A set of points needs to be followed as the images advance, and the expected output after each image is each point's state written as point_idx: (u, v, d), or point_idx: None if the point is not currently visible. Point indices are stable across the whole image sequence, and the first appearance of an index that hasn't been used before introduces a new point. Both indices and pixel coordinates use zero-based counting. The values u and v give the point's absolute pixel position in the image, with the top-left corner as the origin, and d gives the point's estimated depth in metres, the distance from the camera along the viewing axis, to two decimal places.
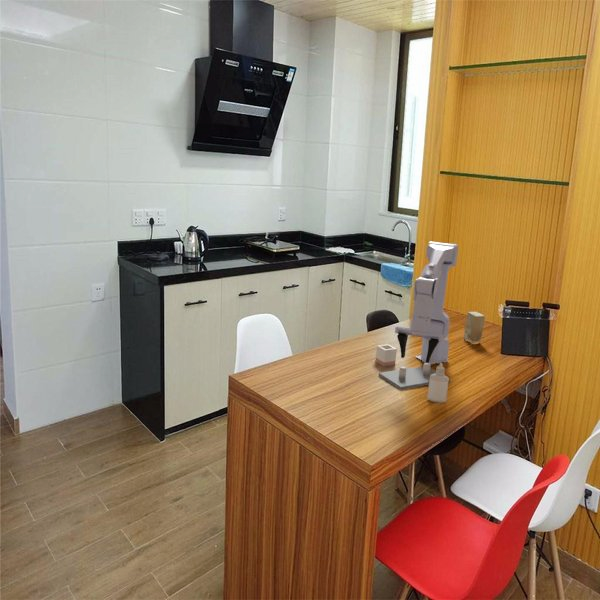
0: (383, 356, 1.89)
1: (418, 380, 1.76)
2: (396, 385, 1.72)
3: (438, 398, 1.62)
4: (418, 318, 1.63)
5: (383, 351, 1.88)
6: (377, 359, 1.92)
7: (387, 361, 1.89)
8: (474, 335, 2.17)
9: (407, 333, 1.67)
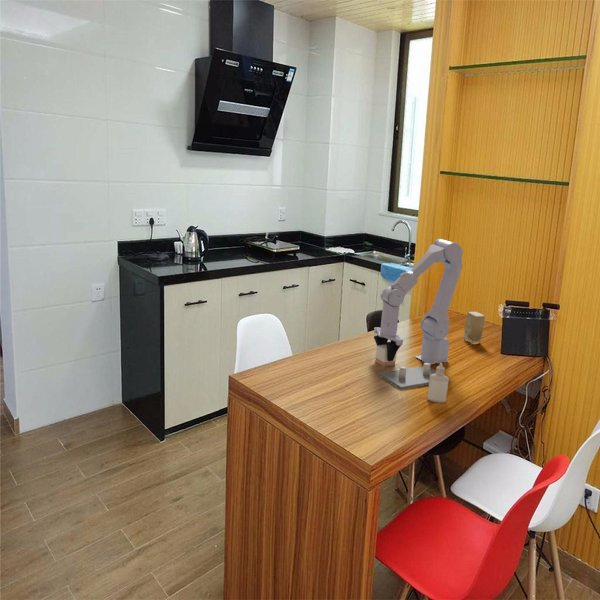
0: (383, 356, 1.89)
1: (418, 380, 1.76)
2: (396, 385, 1.72)
3: (438, 398, 1.62)
4: (382, 322, 1.87)
5: (383, 351, 1.88)
6: (377, 359, 1.92)
7: (387, 361, 1.89)
8: (474, 335, 2.17)
9: None
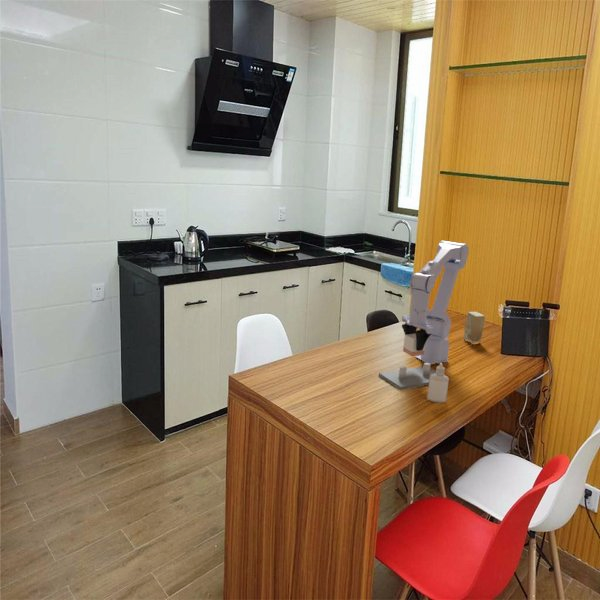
0: (411, 346, 1.80)
1: (418, 380, 1.76)
2: (396, 385, 1.72)
3: (438, 398, 1.62)
4: (411, 310, 1.79)
5: (412, 340, 1.80)
6: (405, 349, 1.84)
7: (416, 351, 1.81)
8: (474, 335, 2.17)
9: None
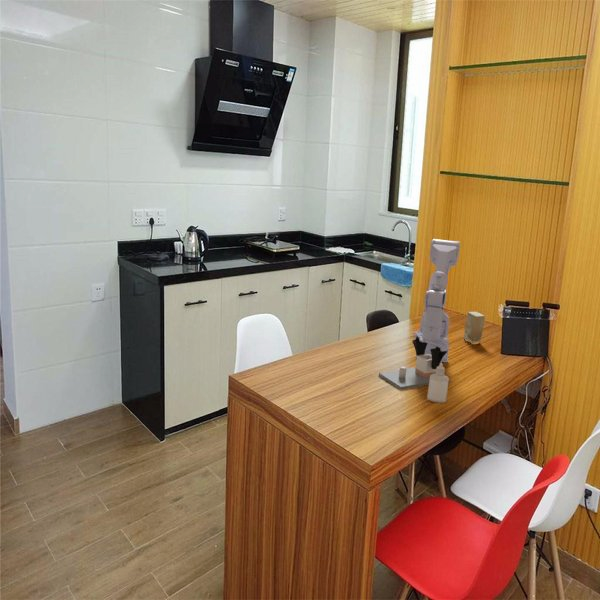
0: (424, 367, 1.78)
1: (418, 380, 1.76)
2: (396, 385, 1.72)
3: (438, 398, 1.62)
4: (424, 327, 1.77)
5: (424, 362, 1.78)
6: (417, 370, 1.81)
7: (429, 372, 1.79)
8: (474, 335, 2.17)
9: None
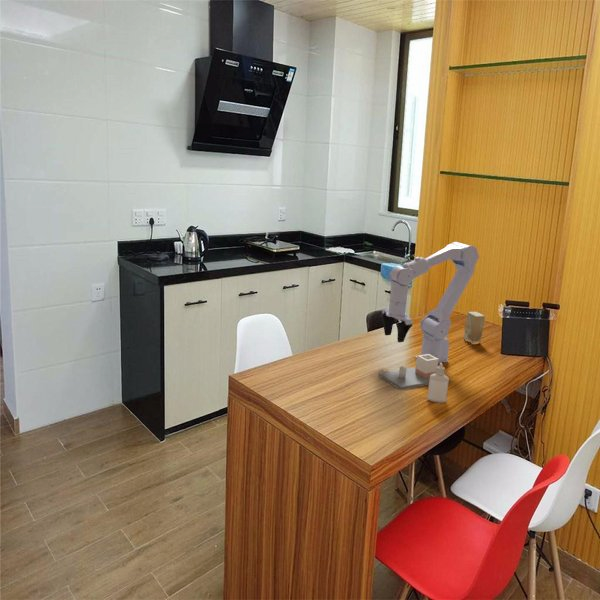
0: (424, 367, 1.78)
1: (418, 380, 1.76)
2: (396, 385, 1.72)
3: (438, 398, 1.62)
4: (390, 302, 1.86)
5: (424, 362, 1.78)
6: (417, 370, 1.81)
7: (429, 372, 1.79)
8: (474, 335, 2.17)
9: None
